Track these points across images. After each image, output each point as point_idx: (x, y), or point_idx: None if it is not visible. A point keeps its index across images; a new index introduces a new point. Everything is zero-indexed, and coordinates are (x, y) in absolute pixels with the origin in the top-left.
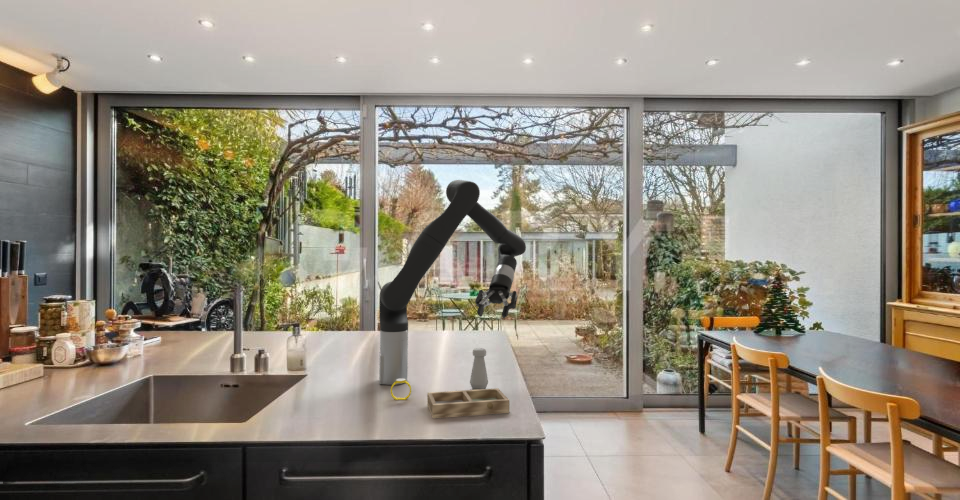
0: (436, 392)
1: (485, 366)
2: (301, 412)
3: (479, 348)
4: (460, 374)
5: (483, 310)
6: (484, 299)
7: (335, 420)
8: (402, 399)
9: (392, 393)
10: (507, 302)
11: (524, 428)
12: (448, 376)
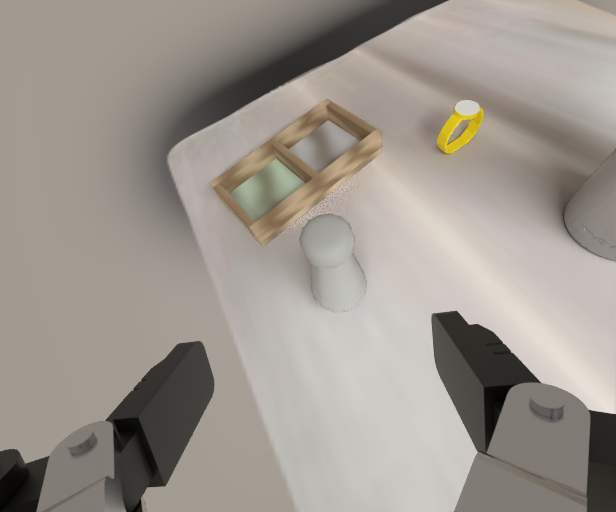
0: (365, 141)
1: (313, 273)
2: (541, 31)
3: (325, 232)
4: None
5: (469, 432)
6: (541, 480)
7: (458, 45)
8: (449, 144)
9: (473, 125)
10: (51, 474)
11: (184, 163)
12: None
